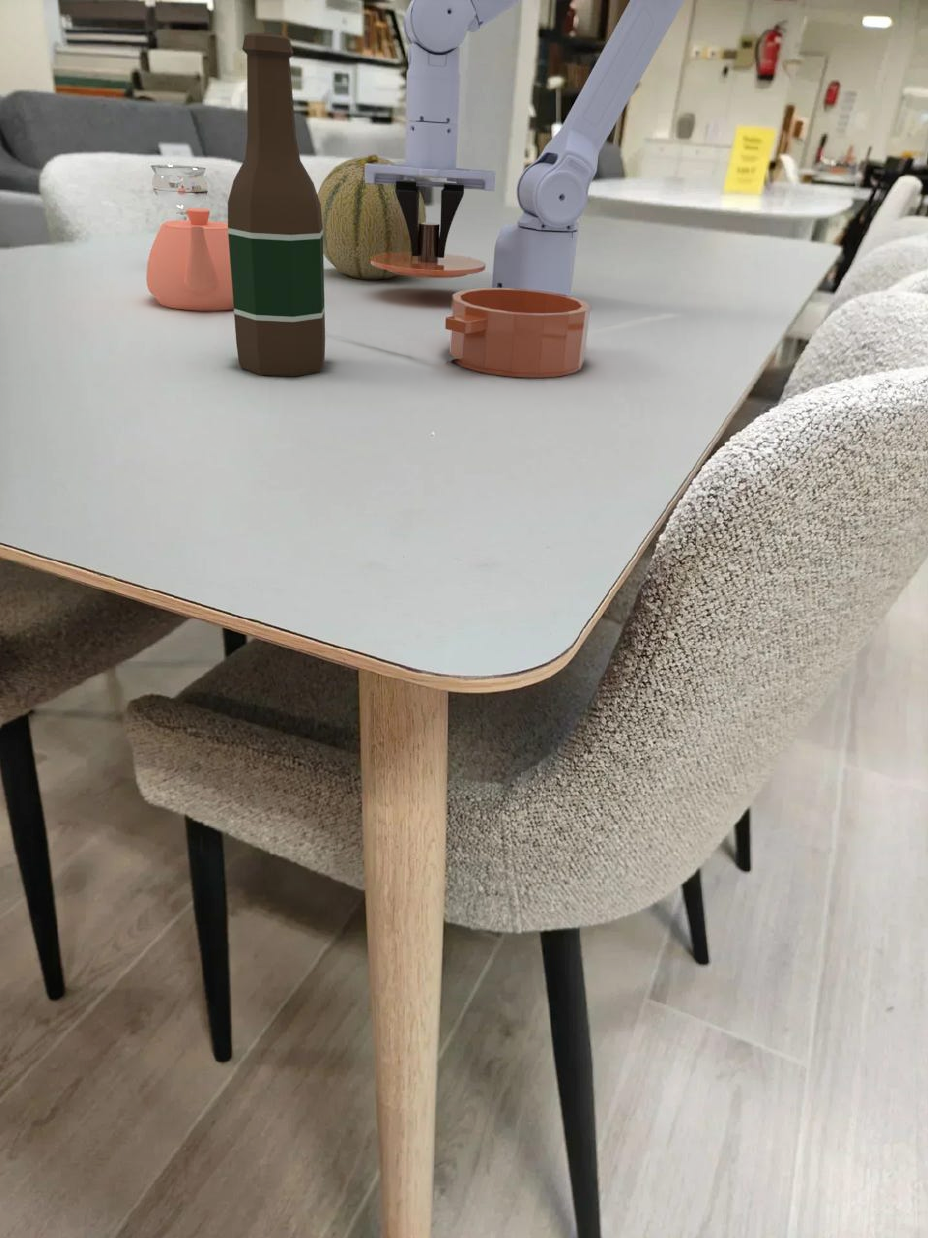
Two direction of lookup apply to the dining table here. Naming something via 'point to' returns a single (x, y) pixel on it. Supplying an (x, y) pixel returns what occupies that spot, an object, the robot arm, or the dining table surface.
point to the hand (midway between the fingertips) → (427, 255)
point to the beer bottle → (275, 228)
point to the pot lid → (427, 258)
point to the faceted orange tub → (518, 332)
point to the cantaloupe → (362, 219)
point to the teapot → (191, 264)
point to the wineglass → (180, 187)
